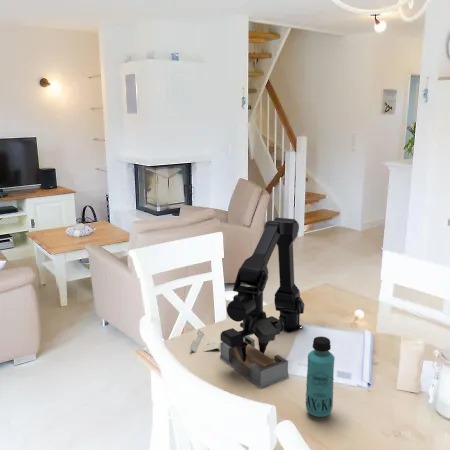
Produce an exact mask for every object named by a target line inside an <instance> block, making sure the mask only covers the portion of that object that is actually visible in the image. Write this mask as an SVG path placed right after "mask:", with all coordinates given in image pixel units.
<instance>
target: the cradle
mask: <svg viewBox="0 0 450 450" xmlns="http://www.w3.org/2000/svg"><path fill="white" fill-rule="evenodd" d="M255 341H256V340H255V338H252V337H251V336H247V337H245V342H247V343H248V344H250V345H251V346H253V347H254V348H256V346H255V345H256V344H255ZM220 342H221V343H220V346H221V352H220V355H219V358H220V359H221V360H222V361H224V363H226V364H227V365H229V367H231V368H232V369H234V370H235V371H237V372H238V374H240V375H242V376H243V377H244V378H245V379H246V380H248V381H250V382H251V383H252V384H253V385H255V386H256V387H257V388H259V389H263V388H265V387H268V386H271V385H273V384H275V383H278V382H280V381H282V380H286V379H288V378H290V375H289V360H287V359H286V358H284V357H282V356H281V355H279V354H275V355H274V356H273V357H274V359H273V360H274V361H276V364H273V365H270V366H268V367H265V368H261V367H260V366H258V365H257V364H255V363H253V364H251V369H250V368H248V367H247V366H246V365H244V364H243V363H242V362H240V361H239V360H237V359H236V358H235V357H233V356H232V347H229V346H228V345H227V344H225V343H224V342H222V341H220Z"/></svg>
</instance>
